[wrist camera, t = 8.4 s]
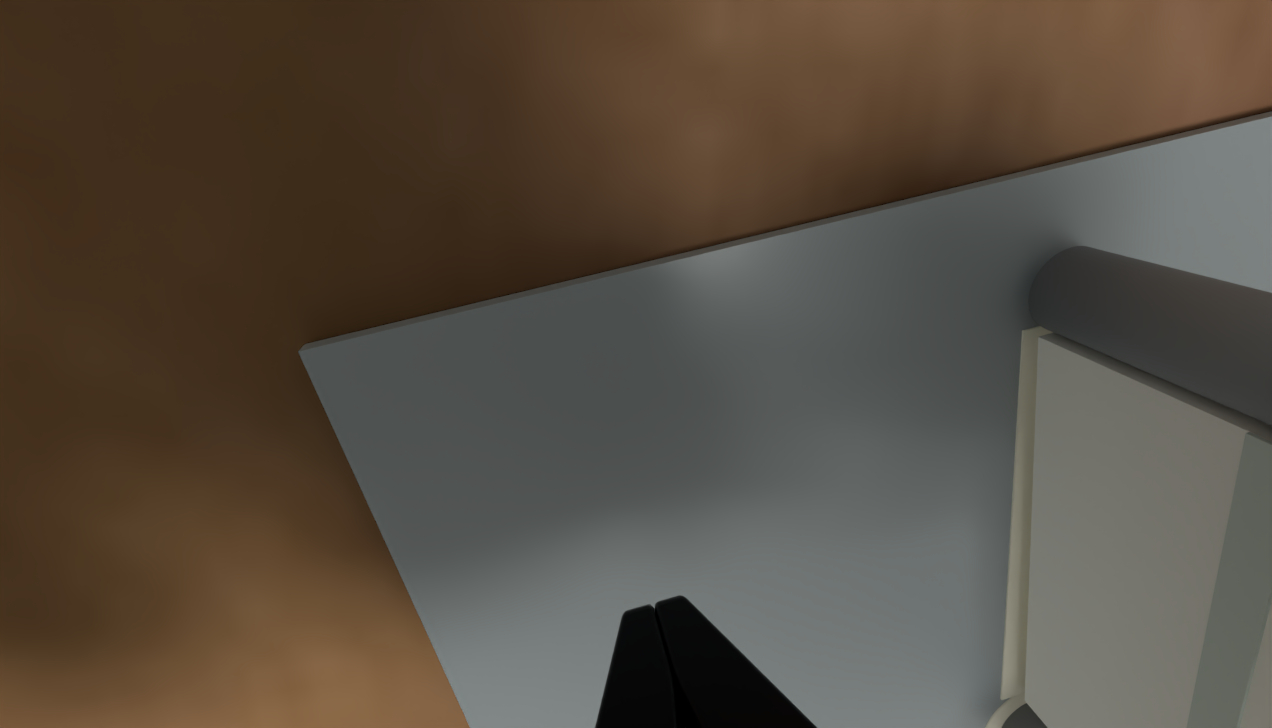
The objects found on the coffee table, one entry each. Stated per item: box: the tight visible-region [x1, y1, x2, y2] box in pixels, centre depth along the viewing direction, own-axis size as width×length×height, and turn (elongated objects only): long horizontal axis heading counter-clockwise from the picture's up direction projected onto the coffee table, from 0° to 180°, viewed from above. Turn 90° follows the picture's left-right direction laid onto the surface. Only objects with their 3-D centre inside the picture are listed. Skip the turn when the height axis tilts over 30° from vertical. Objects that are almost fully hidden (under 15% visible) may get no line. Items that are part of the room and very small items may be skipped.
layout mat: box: [298, 111, 1272, 728], centre depth 13 cm, size 24×16×1 cm, turn 102°
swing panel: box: [1025, 246, 1272, 728], centre depth 10 cm, size 10×1×5 cm, turn 13°
